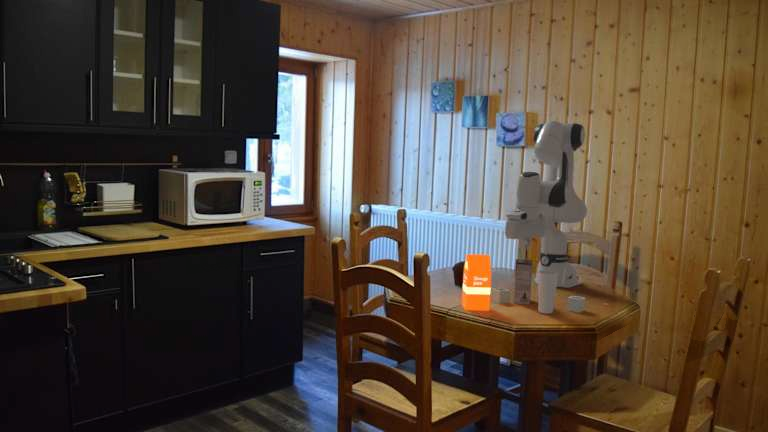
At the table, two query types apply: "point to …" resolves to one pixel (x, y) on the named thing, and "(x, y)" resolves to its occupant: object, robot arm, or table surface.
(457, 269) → the muffin
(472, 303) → the orange juice
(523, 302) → the coffee box
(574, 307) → the digit block offwhite
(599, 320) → the table surface
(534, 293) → the table surface
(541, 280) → the drinking glass
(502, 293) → the digit block sage
